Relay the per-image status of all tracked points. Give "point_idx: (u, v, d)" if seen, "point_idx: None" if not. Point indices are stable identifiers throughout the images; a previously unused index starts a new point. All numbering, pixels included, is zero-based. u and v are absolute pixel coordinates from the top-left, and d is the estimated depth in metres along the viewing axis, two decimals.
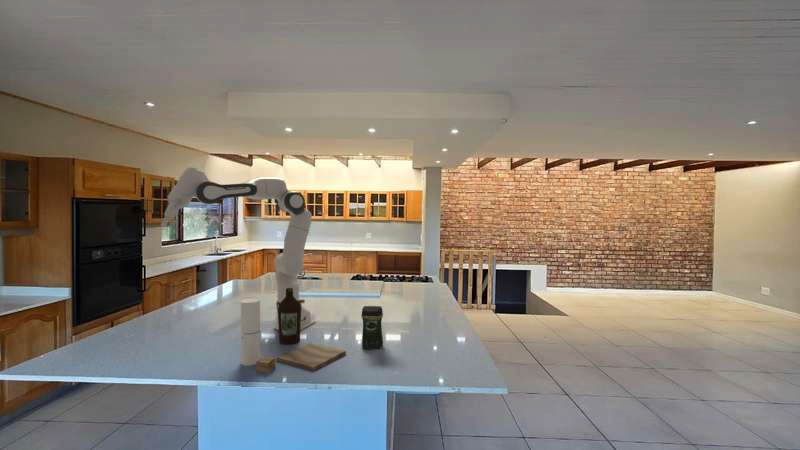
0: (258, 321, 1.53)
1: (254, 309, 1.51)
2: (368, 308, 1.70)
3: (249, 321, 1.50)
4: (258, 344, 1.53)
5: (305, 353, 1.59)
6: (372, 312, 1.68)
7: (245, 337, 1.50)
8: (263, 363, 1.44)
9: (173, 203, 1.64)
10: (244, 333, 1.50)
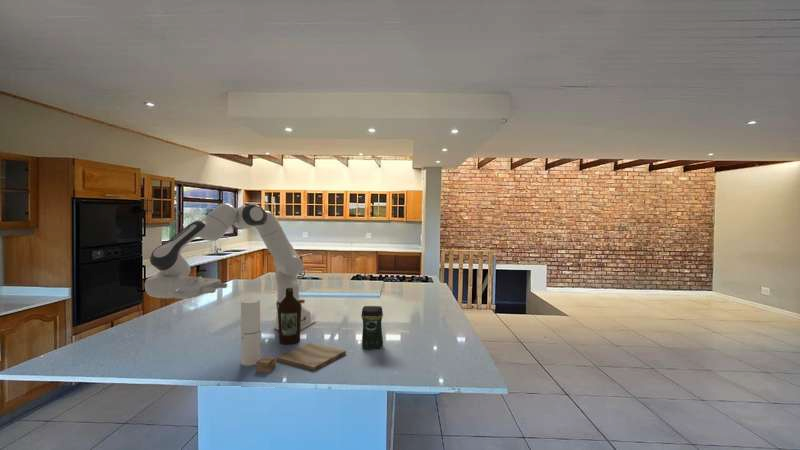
0: (258, 321, 1.53)
1: (254, 309, 1.51)
2: (368, 308, 1.70)
3: (249, 321, 1.50)
4: (258, 344, 1.53)
5: (305, 353, 1.59)
6: (372, 312, 1.68)
7: (245, 337, 1.50)
8: (263, 363, 1.44)
9: (180, 295, 1.44)
10: (244, 333, 1.50)
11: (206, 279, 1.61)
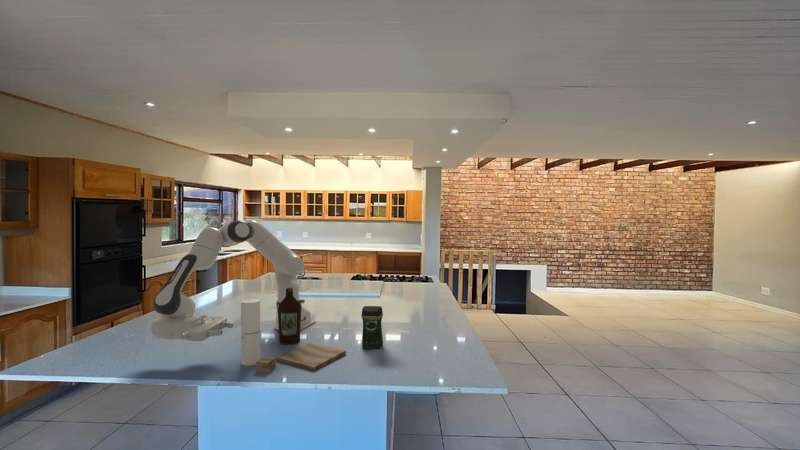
0: (258, 321, 1.53)
1: (254, 309, 1.51)
2: (368, 308, 1.70)
3: (249, 321, 1.50)
4: (258, 344, 1.53)
5: (305, 353, 1.59)
6: (372, 312, 1.68)
7: (245, 337, 1.50)
8: (263, 363, 1.44)
9: (187, 339, 1.45)
10: (244, 333, 1.50)
11: (212, 318, 1.62)
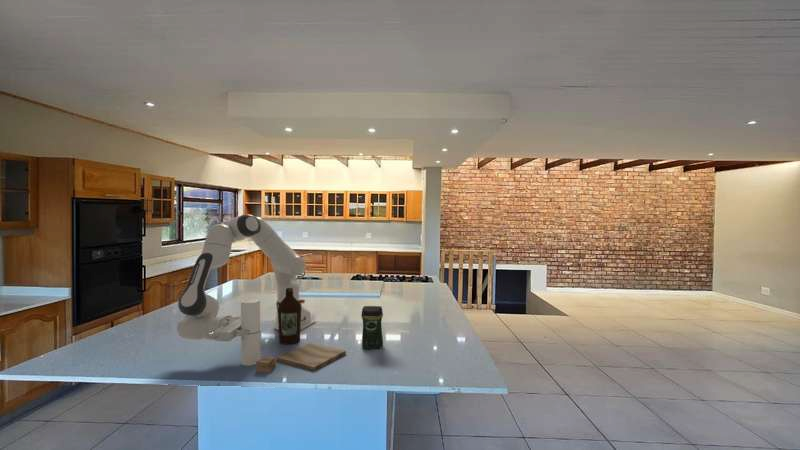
0: (258, 321, 1.53)
1: (254, 309, 1.51)
2: (368, 308, 1.70)
3: (249, 321, 1.50)
4: (258, 344, 1.53)
5: (305, 353, 1.59)
6: (372, 312, 1.68)
7: (245, 337, 1.50)
8: (263, 363, 1.44)
9: (214, 339, 1.45)
10: None
11: (237, 318, 1.61)
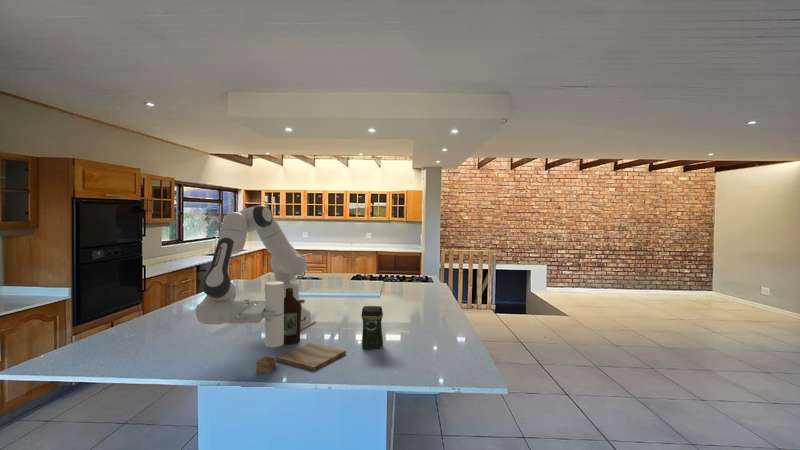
0: (283, 303, 1.54)
1: (280, 290, 1.52)
2: (368, 308, 1.70)
3: (275, 302, 1.51)
4: (283, 326, 1.54)
5: (305, 353, 1.59)
6: (372, 312, 1.68)
7: (271, 319, 1.51)
8: (263, 363, 1.44)
9: (243, 321, 1.43)
10: None
11: (254, 302, 1.60)
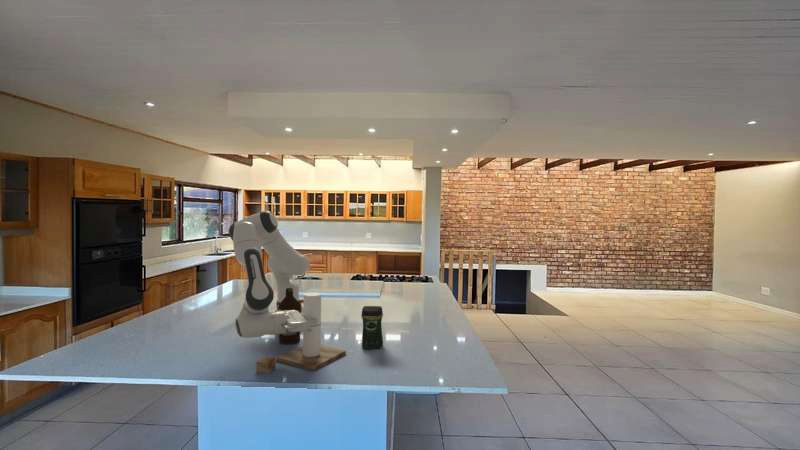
0: (320, 313, 1.60)
1: (320, 301, 1.58)
2: (368, 308, 1.70)
3: (316, 313, 1.56)
4: (320, 335, 1.60)
5: None
6: (372, 312, 1.68)
7: (312, 329, 1.56)
8: (263, 363, 1.44)
9: (292, 330, 1.46)
10: (311, 325, 1.55)
11: (285, 312, 1.61)
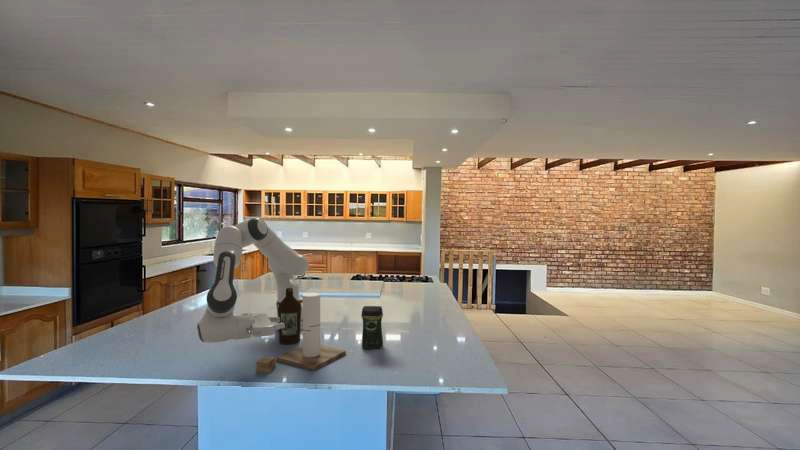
0: None
1: (319, 301, 1.57)
2: (368, 308, 1.70)
3: (315, 313, 1.56)
4: None
5: None
6: (372, 312, 1.68)
7: (312, 329, 1.55)
8: (263, 363, 1.44)
9: (256, 335, 1.40)
10: (311, 326, 1.55)
11: (253, 315, 1.55)
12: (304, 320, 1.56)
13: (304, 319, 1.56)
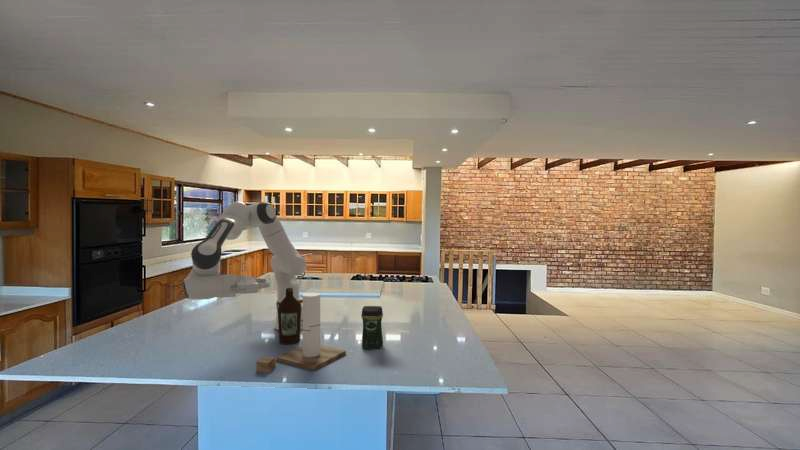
0: None
1: (319, 301, 1.57)
2: (368, 308, 1.70)
3: (315, 313, 1.56)
4: None
5: None
6: (372, 312, 1.68)
7: (312, 329, 1.55)
8: (263, 363, 1.44)
9: (241, 292, 1.42)
10: (311, 326, 1.55)
11: (239, 276, 1.57)
12: (304, 320, 1.56)
13: (304, 319, 1.56)
